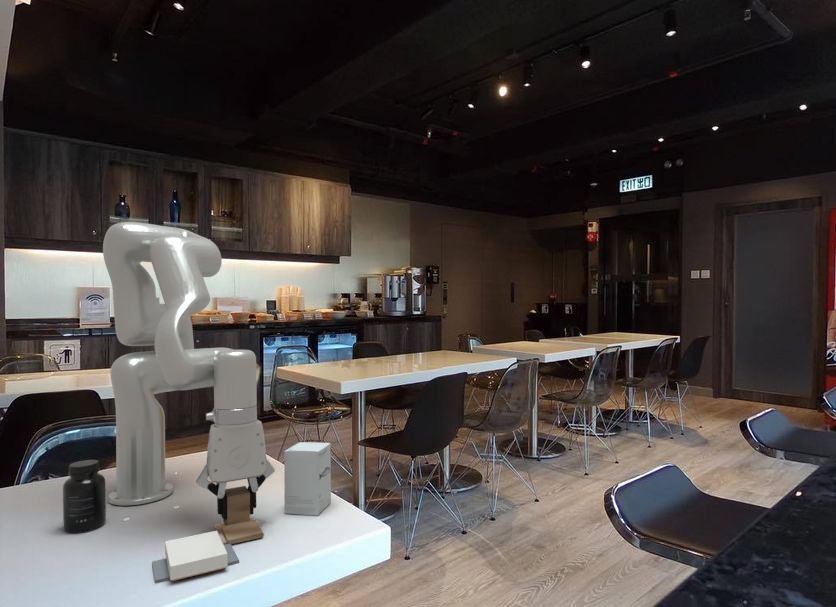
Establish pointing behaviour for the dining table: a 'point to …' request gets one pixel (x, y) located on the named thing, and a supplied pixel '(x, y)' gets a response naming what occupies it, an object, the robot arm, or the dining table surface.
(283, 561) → the dining table surface
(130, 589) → the dining table surface
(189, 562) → the tile
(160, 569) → the mat
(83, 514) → the supplement bottle
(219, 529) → the pad
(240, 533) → the wooden block stack
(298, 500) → the supplement box
